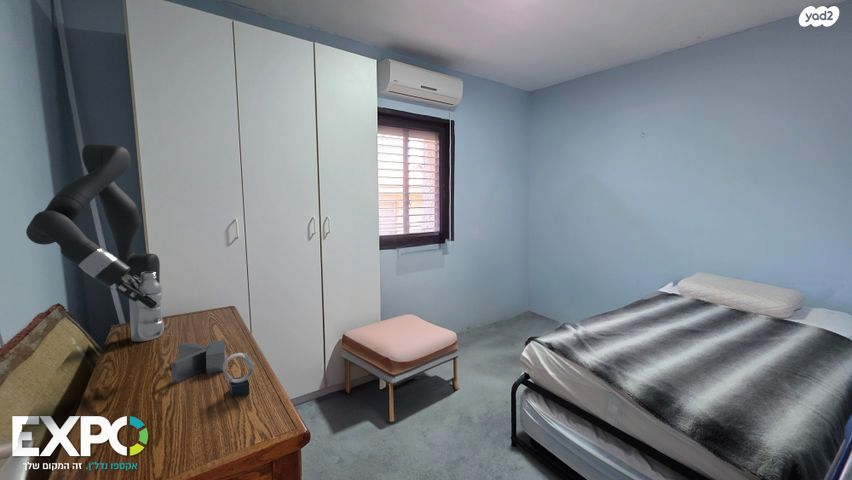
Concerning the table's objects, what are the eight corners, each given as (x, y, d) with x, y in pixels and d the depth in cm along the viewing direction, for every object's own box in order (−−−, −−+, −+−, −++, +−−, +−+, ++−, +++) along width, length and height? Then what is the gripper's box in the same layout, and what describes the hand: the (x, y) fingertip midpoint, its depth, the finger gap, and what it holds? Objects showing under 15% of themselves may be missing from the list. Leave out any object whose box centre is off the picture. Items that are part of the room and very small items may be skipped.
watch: (257, 391, 102) (256, 354, 102) (224, 400, 98) (223, 360, 97) (253, 383, 107) (252, 347, 106) (222, 391, 102) (220, 353, 101)
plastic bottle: (150, 341, 108) (147, 275, 106) (132, 338, 109) (128, 273, 107) (169, 333, 114) (167, 271, 112) (152, 331, 116) (149, 270, 114)
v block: (179, 360, 122) (179, 343, 122) (226, 353, 128) (225, 336, 128) (171, 384, 106) (170, 364, 105) (224, 374, 112) (224, 356, 112)
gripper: (108, 261, 100) (162, 299, 106) (123, 254, 112) (171, 289, 119) (84, 281, 98) (141, 319, 104) (102, 272, 111) (151, 306, 117)
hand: (156, 303), depth 112 cm, fingers closed on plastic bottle, 6 cm apart
